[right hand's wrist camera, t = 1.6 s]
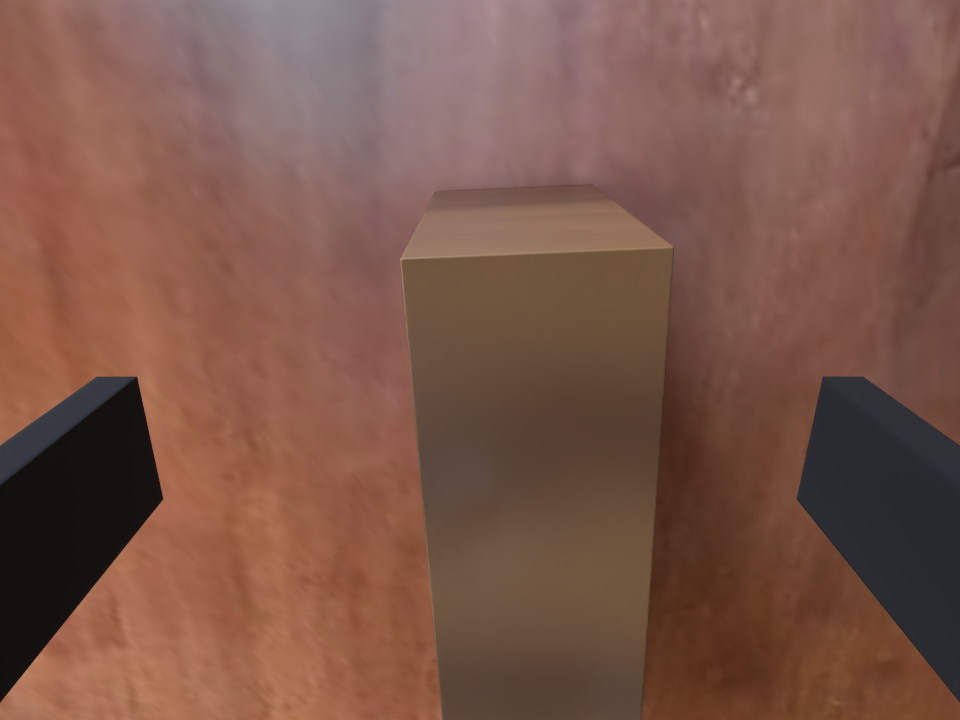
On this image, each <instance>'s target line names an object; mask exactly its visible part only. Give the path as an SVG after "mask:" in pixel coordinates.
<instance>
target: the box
mask: <svg viewBox="0 0 960 720" xmlns="http://www.w3.org/2000/svg"><path fill="white" fill-rule="evenodd" d="M673 254H674V247H673V246H672V245H671V244H669V243H668V242H667V241H665V240H664V239H663V238H661V237H660V236H659V235H658V234H656V233H655V232H654V231H652V230H651V229H650V228H648V227H647V226H646V225H645V224H643V223H642V222H641V221H639V220H638V219H637V218H635V217H634V216H633V215H631V214H630V213H629V212H628V211H626V210H625V209H624V208H622V207H621V206H620V205H618V204H617V203H616V202H615V201H613V200H612V199H611V198H609V197H608V196H607V195H605V194H604V193H603V192H602V191H600V190H599V189H598V188H596V187H595V186H594V185H569V186H547V187H524V188H502V189H480V190H457V191H436V192H435V193H434V195H433V197H432V199H431V201H430V203H429V205H428V206H427V208H426V210H425V212H424V214H423V216H422V218H421V220H420V222H419V224H418V226H417V228H416V230H415V231H414V233H413V235H412V237H411V239H410V241H409V243H408V245H407V247H406V249H405V251H404V253H403V254H402V256H401V258H400V265H401V276H402V287H403V298H404V309H405V320H406V331H407V342H408V352H409V363H410V374H411V385H412V396H413V407H414V418H415V429H416V440H417V451H418V462H419V472H420V483H421V494H422V505H423V516H424V527H425V538H426V549H427V560H428V571H429V582H430V593H431V603H432V614H433V625H434V636H435V647H436V658H437V669H438V680H439V691H440V702H441V713H442V720H641V716H642V702H643V687H644V673H645V658H646V644H647V629H648V615H649V601H650V586H651V572H652V557H653V543H654V528H655V514H656V499H657V485H658V471H659V456H660V442H661V427H662V413H663V398H664V384H665V369H666V355H667V341H668V326H669V312H670V297H671V283H672V268H673Z"/></svg>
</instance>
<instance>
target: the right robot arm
mask: <svg viewBox="0 0 960 720" xmlns="http://www.w3.org/2000/svg"><path fill="white" fill-rule="evenodd" d="M162 500H163V496H162V491H161V486H160V482H159V477H158V472H157V468H156V463H155V458H154V454H153V449H152V444H151V440H150V435H149V430H148V426H147V421H146V416H145V412H144V407H143V402H142V398H141V393H140V388H139V384H138V379H137V377H96V378H95V379H93V380H92V381H90V382H89V383H87V384H86V385H85V386H83V387H82V388H80V389H79V390H78V391H76V392H75V393H73V394H72V395H71V396H69V397H68V398H66V399H65V400H64V401H62V402H61V403H59V404H58V405H57V406H55V407H54V408H52V409H51V410H50V411H48V412H47V413H45V414H44V415H43V416H41V417H40V418H38V419H37V420H36V421H34V422H33V423H31V424H30V425H29V426H27V427H26V428H24V429H23V430H22V431H20V432H19V433H17V434H16V435H14V436H13V437H12V438H10V439H9V440H7V441H6V442H5V443H3V444H2V445H0V702H1V701H2V700H3V698H4V697H5V696H6V695H7V693H8V692H9V691H10V690H11V688H12V687H13V686H14V685H15V683H16V682H17V681H18V680H19V678H20V677H21V676H22V675H23V673H24V672H25V671H26V670H27V668H28V667H29V666H30V665H31V663H32V662H33V661H34V660H35V658H36V657H37V656H38V655H39V653H40V652H41V651H42V650H43V648H44V647H45V646H46V645H47V643H48V642H49V641H50V640H51V638H52V637H53V636H54V635H55V634H56V632H57V631H58V630H59V629H60V627H61V626H62V625H63V624H64V622H65V621H66V620H67V619H68V617H69V616H70V615H71V614H72V612H73V611H74V610H75V609H76V607H77V606H78V605H79V604H80V602H81V601H82V600H83V599H84V597H85V596H86V595H87V594H88V592H89V591H90V590H91V589H92V587H93V586H94V585H95V584H96V582H97V581H98V580H99V579H100V577H101V576H102V575H103V574H104V572H105V571H106V570H107V569H108V567H109V566H110V565H111V564H112V562H113V561H114V560H115V559H116V557H117V556H118V555H119V554H120V552H121V551H122V550H123V549H124V547H125V546H126V545H127V544H128V542H129V541H130V540H131V539H132V537H133V536H134V535H135V534H136V532H137V531H138V530H139V529H140V527H141V526H142V525H143V524H144V522H145V521H146V520H147V519H148V517H149V516H150V515H151V514H152V512H153V511H154V510H155V509H156V508H157V506H158V505H159V504H160V503H161V501H162ZM797 500H798V501H799V503H800V504H801V505H802V506H803V508H804V509H805V510H806V511H807V512H808V514H809V515H810V516H811V517H812V519H813V520H814V521H815V522H816V524H817V525H818V526H819V527H820V529H821V530H822V531H823V532H824V534H825V535H826V536H827V537H828V539H829V540H830V541H831V542H832V544H833V545H834V546H835V547H836V549H837V550H838V551H839V552H840V554H841V555H842V556H843V557H844V559H845V560H846V561H847V562H848V564H849V565H850V566H851V567H852V569H853V570H854V571H855V572H856V574H857V575H858V576H859V577H860V579H861V580H862V581H863V582H864V584H865V585H866V586H867V587H868V589H869V590H870V591H871V592H872V594H873V595H874V596H875V597H876V599H877V600H878V601H879V602H880V604H881V605H882V606H883V607H884V609H885V610H886V611H887V612H888V614H889V615H890V616H891V617H892V619H893V620H894V621H895V622H896V624H897V625H898V626H899V627H900V629H901V630H902V631H903V632H904V634H905V635H906V636H907V637H908V639H909V640H910V641H911V642H912V643H913V645H914V646H915V647H916V648H917V650H918V651H919V652H920V653H921V655H922V656H923V657H924V658H925V660H926V661H927V662H928V663H929V665H930V666H931V667H932V668H933V670H934V671H935V672H936V673H937V675H938V676H939V677H940V678H941V680H942V681H943V682H944V683H945V685H946V686H947V687H948V688H949V690H950V691H951V692H952V693H953V695H954V696H955V697H956V698H957V700H958V701H959V702H960V445H958V444H957V443H955V442H954V441H953V440H951V439H950V438H948V437H947V436H946V435H944V434H943V433H941V432H940V431H938V430H937V429H936V428H934V427H933V426H931V425H930V424H929V423H927V422H926V421H924V420H923V419H922V418H920V417H919V416H917V415H916V414H915V413H913V412H912V411H910V410H909V409H908V408H906V407H905V406H903V405H902V404H901V403H899V402H898V401H896V400H895V399H894V398H892V397H891V396H889V395H888V394H887V393H885V392H884V391H882V390H881V389H880V388H878V387H877V386H875V385H874V384H873V383H871V382H870V381H868V380H867V379H865V378H864V377H823V379H822V384H821V388H820V393H819V398H818V402H817V407H816V412H815V416H814V421H813V426H812V430H811V435H810V440H809V444H808V449H807V454H806V458H805V463H804V468H803V472H802V477H801V482H800V486H799V491H798V496H797Z"/></svg>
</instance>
